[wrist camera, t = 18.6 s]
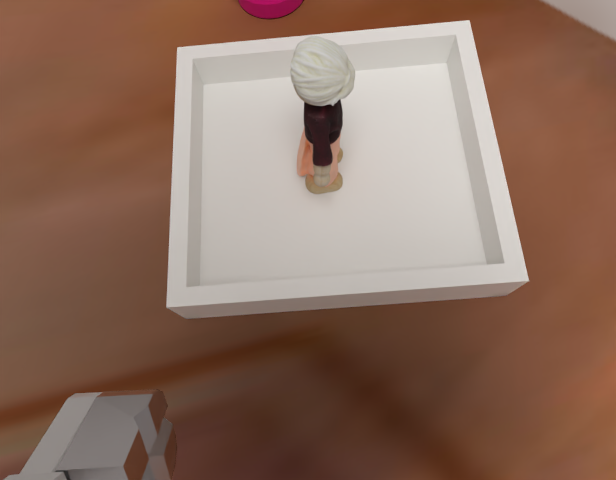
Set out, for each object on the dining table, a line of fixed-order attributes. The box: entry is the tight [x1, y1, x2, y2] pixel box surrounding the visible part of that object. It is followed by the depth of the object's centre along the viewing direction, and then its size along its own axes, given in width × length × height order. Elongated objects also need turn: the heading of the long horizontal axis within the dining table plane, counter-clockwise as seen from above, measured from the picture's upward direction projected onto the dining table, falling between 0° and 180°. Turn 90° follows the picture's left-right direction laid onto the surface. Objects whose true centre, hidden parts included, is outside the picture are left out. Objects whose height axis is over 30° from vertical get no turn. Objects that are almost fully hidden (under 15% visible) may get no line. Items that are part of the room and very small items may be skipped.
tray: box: [166, 20, 529, 319], centre depth 34 cm, size 22×20×4 cm
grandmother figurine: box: [290, 36, 355, 194], centre depth 28 cm, size 8×4×13 cm, turn 7°
